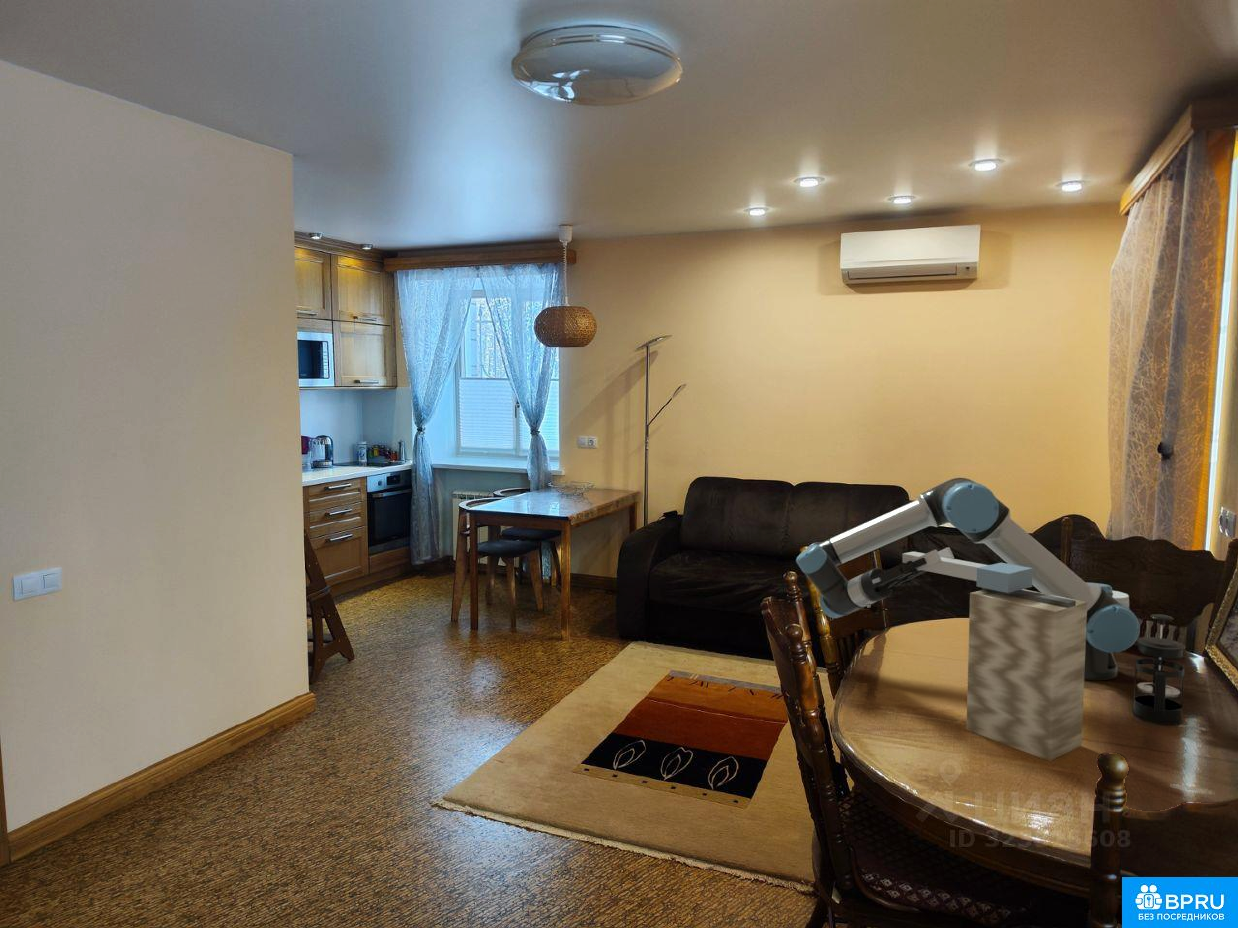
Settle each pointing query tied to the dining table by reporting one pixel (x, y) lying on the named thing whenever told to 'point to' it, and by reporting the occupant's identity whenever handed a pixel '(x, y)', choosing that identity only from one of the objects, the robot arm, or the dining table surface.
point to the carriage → (981, 573)
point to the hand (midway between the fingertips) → (944, 553)
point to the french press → (1159, 680)
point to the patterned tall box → (1027, 670)
